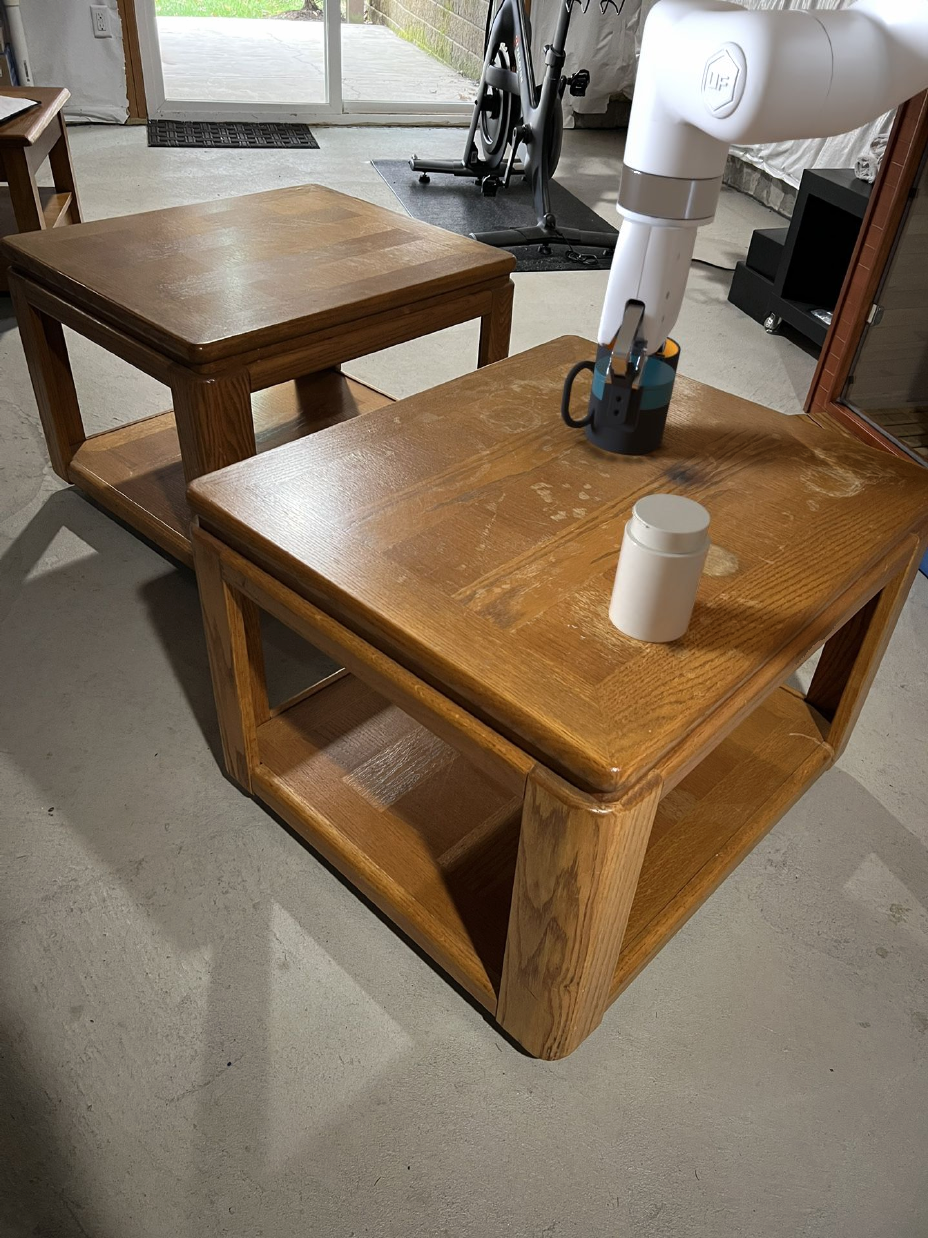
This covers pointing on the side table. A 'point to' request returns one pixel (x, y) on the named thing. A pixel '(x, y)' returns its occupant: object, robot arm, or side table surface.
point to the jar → (660, 568)
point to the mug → (614, 440)
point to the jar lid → (654, 381)
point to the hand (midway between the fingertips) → (628, 409)
